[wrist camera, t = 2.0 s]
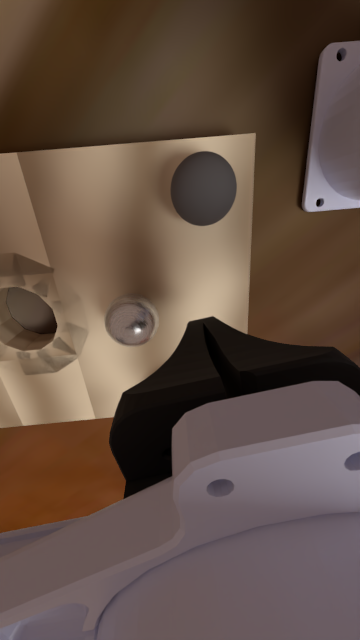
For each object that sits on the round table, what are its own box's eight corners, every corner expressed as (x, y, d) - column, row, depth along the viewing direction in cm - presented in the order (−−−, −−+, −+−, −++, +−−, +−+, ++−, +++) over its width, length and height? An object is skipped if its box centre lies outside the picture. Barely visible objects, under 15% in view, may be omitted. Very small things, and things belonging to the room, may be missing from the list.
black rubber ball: (228, 156, 13) (246, 139, 10) (227, 222, 14) (244, 224, 11) (167, 161, 13) (167, 146, 10) (172, 226, 14) (174, 230, 11)
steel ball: (156, 284, 15) (154, 301, 12) (162, 329, 17) (161, 354, 14) (106, 289, 15) (91, 307, 12) (115, 334, 16) (104, 360, 14)
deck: (241, 145, 15) (255, 133, 12) (236, 384, 22) (244, 404, 20) (-95, 172, 14) (-144, 165, 12) (14, 405, 22) (-4, 428, 19)
